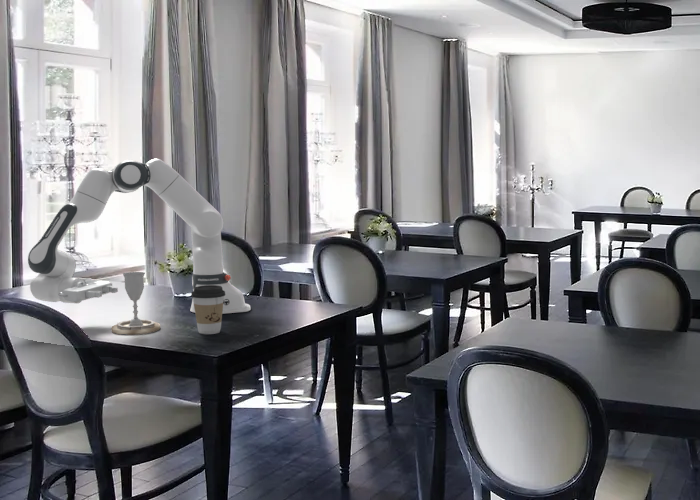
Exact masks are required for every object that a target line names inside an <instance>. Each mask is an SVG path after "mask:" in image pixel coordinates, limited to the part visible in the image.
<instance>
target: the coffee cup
mask: <svg viewBox="0 0 700 500" xmlns="http://www.w3.org/2000/svg"><path fill="white" fill-rule="evenodd" d="M190 294H191V297H192V300H193V302H194V308H195V314H194V315H195V319H196V326H197V331H198V333H199V334H200V335H214V334H215V335H216V334H219V333H220V332H221V329H222V319H223V314H222V311H223V301H224V296H225V291H223V289H222V287H221V286H216V285H205V286H198V287H195V288H194V291H193V290H192V292H191V293H190Z"/></svg>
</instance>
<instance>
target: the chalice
mask: <svg viewBox="0 0 700 500" xmlns="http://www.w3.org/2000/svg"><path fill="white" fill-rule="evenodd" d="M145 274H146V272H144V271H130V272H123V273H122V275H123V277H124V290H125V291H126V294H127V295H128V298H129V300H131V301H132V302H133V305H132V307H133V311H132V313H133V318H132V319H130V320H131V321H130V324H129V326H143V324H142V320H143V319H142V318H139V317H138V313H139V311H138V303H137V302H138V301H140V299H141V296H142V295H143V292H144V289H145V283H144V282H145V281H144V276H145Z"/></svg>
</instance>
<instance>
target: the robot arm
mask: <svg viewBox="0 0 700 500" xmlns="http://www.w3.org/2000/svg"><path fill="white" fill-rule="evenodd" d="M143 186H144V187H147V188H149V189H150V190H152V191H153V192H154V193H155V194H156V195H157V196H158V197H159V198H160V199H161V200H162V201H163V202H164V203H165V204H166V205H167V206H168V207H169V209H171V210H172V211H173V212H174V213H176V215H177V216H178V217H180V218H181V219H182V220H183V221H184V223H186V224H187V226H189V227H190V232H191V243H192V244H191V248H192V265H193V266H192V267H193V269H192V270H193V271H192V275H191V283H192V284H191V285H192V288H193V290H192V292H193V291H194V288H195V287H198V286H205V285H216V286H221V287H222V289H223V291H225V296H224V301H223V311H222V315H223V314H232V313H233V314H234V313H246V312H249V311H251V309H252V308H251V305H250V304H249V303H246V302H245V297H244V294H243V292H242V291H241V290H240V289H239V288H237V287H236V286H234V285H233V284H232V283H230V282H229V281H230V280H231V275H229V274H228V273H226V272H224V258H223V256H224V253H223V245H222V243H223V242H222V233H221V232H222V231H223V228H224V219H223V216H222V214H221V213H220V211H218V210H217V209H216V208H215V207H214V206H213V205H212V204H211V203H210V202H209V201H208V200H207V199H206V198H205V197H204V196H203V195H201V194H200V193H199V192H198V191H197V190H196V189H195V188H194V187H193V186H192V185H191V184H190V183H189V182H188V181H187V180H186V179H185V178H184V177H183V176H182V175H181V174H179V172H178V171H176V169H174V168H173V167H172V166H171V165H169V164H168V163H167V162H165V161H163V160H162V159H160V158H153V159H150V160H149V161H147V162H146V163H142V162H139V161H136V160H133V159H131V160H130V159H126V160H124V161H122V162H119V163H118V164H116V166H114V168H112V169H111V170H107V169H103V168H100V167H95V168H91V169H90V170H89V171H88V172H87V174H86V175H85V176H84V178H83V179H82V181H81V182H80V184H79V186H78V188H77V189H76V191H75V193H74V195H73V197H72V198H71V199H70V201H68V203H66V204H65V205H63V206H62V207H61V208H60V209H59V211H58V212H57V214H56V215H55V216H54V218H53V219H52V221H51V222H50V224H49V226H48V227H47V228H46V230H45V232H44V233H43V235H42V236H41V238H40V239H39V240H38V242H37V243H36V244H35V245H34V246H33V247H32V248H31V249H30V250H29V253H28V255H27V262H28V267H29V268H30V270H31V271H32V272H34V273H35V274H38V275H37V276H35V277H34V278H33V279H32V280H31V281H30V285H29V289H30V293H31V295H32V296H33V298H35V299H36V300H39V301H41V302H47V303H49V302H50V303H58V302H61V303H65V304H80V303H82V301H86V300H90V299H94V298H101V297H102V296H104V295H107V294H111V293H112V294H116V293H118V292H119V291H118V290H119V289H118V287H117V286H113V283H112V282H111V281H108V280H101V279H100V280H99V279H92V278H91V277H83V278H82V277H74V275H75V272H76V267H77V263H76V259H75V257H73V255H71V254H69V253H68V252H64V251H62V250H59V249H58V247H59V246H60V244H61V242H62V240H63V239H64V238H65V236H66V234H67V233H68V231H69V230H70V229H71V228H72V227H73V226H75V225H78V224H83V223H84V224H85V223H86V224H87V223H92V222H94V221H96V220H98V219H99V217H100V216H101V215H102V214H103V211H104V210H105V208H106V205H107V203H108V201H109V199H110V197H111V196H112V194H113V193H114V192H118V193H123V194H127V193H133V192H136V191H137V190H139V189H140V188H141V187H143ZM189 310H190V312H192V313H195V308H194V302H193V299H191V306H190V309H189Z"/></svg>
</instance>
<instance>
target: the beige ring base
mask: <svg viewBox="0 0 700 500" xmlns="http://www.w3.org/2000/svg"><path fill="white" fill-rule="evenodd" d="M131 320H132V319H130V320H123V321H120V322H117V323H116V324H114V325H112V326H111V333H113V334H115V333H116V335H121V334H127V335H126V336H129V335H131V336H135V335H136V336H137V335H147V334H151V333H155V332H158V331H160V330H161V324H160V323H159V322H156V321H154V320H151V319H141V320H142V324H143V326H129V324H130V321H131Z"/></svg>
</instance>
